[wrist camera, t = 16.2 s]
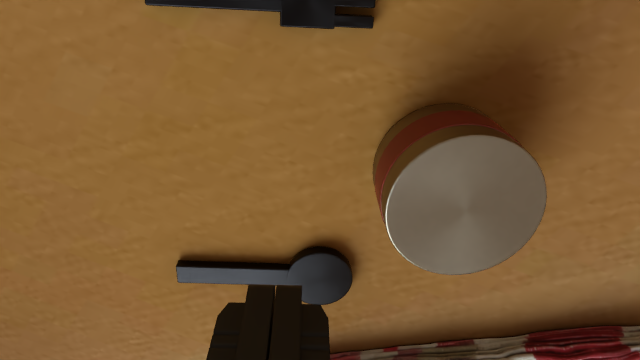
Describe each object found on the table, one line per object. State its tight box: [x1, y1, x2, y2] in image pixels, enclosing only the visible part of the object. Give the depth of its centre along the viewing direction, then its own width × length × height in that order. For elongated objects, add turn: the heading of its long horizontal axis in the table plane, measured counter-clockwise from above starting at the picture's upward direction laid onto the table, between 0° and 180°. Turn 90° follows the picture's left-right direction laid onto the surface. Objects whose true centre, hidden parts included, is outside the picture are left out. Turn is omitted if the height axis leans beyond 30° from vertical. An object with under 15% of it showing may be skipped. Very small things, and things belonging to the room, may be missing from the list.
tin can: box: [373, 104, 547, 275], centre depth 21 cm, size 7×7×4 cm
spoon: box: [176, 246, 352, 305], centre depth 26 cm, size 10×4×1 cm, turn 87°
